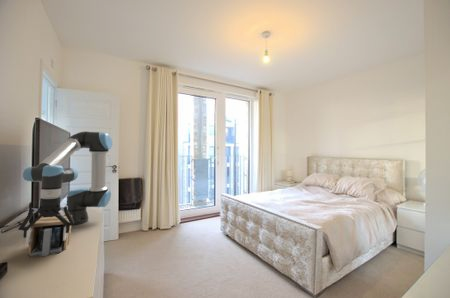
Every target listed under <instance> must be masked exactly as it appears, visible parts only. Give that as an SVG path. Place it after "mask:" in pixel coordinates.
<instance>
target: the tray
mask: <svg viewBox="0 0 450 298" xmlns="http://www.w3.org/2000/svg"><path fill="white" fill-rule="evenodd" d="M51 234H52V228H50V229H45V230H44V236H43V247H42V250H39V244H38V245H37V246H36V248H35V249H34V250H33V251H32V252H31V253H30V255H29V258H34V257H46V256H49V255H55V254H61V252H62V250H64V241H63V239H62V240H61V244H60V246H59V247H58V248H50V246H51Z"/></svg>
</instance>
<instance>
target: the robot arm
mask: <svg viewBox="0 0 450 298" xmlns="http://www.w3.org/2000/svg"><path fill="white" fill-rule="evenodd" d="M112 140H113V139H112V137H111V135H110V134H109V133H106V132H103V131H99V132H98V131H80V132H77V133H74V134H72V135H71V136H69V137H67V138H66V139H65V140H64V141H63V142H64V143H63V144H62V145H61V146H59V147H58V148H56V150H54V151H53V152H52V153H50V155H48V156H47V157H46V158H45V159H44V160H42V161H41V162H40V163H39V164H38V165H36V166H28V167H26V168H25V169H24V170H23V172H22V177H23V180H24V181H27V182H32V183H33V182H35V183H37V182H38V183H41V187H40V196H39V197H40V199H39V206H38V208H35V207H31V208H30V210H29V211H28V212H29V213H28V215H27V216H26V217H25V219H24V220H23V222H22V223H21V225H19V227H18V230H19V231H23V239H24V238H25V246H29V243H30V238H31V226H32V225H33V224H34V223H36V222H37V221H38V220H39V219H40V218H41V217H44V218H45V217H53V216H55V217H56V218H58V219H59V220H60V221H61V222H62V223H63V224H64V225H65V227H64V234H63V241H65V240H66V234H67V233H68V232H69V230H70V226H71V227H72V226H74V225H81V224H85V223H87V222H88V221H89V218H90V217H89V214H88V211H87V208H105V207H107V205H108V204H109V202H110V201H111V196H112V193H111V191H110V190H109V188H108V186H107V185H106V177H107V175H106V172H107V171H106V169H107V166H106V163H107V154H108V153H109V150H111V148H112V146H113V141H112ZM81 149H88V151H89V153H90V154H91V182H90V184H91V187H88V188H87V187H83V188H74V189H71V190H68V192H67V195H66V205H65V206H62V207H61V198H62V187H63V184H64V183H71V182H73V181H75V180H77V178H78V177H79V172H78V170H77V169H75V168H74V167H63V166H62V164H63V163H65V161H67V159H69V158H70V157H71V156H72V155H73V154H74V153H75V152H77V151H79V150H81ZM60 211H62V212H64V214H63V215H62V213H60ZM37 212H38V216H37V217H36V218H35V219H33V220H32V221H31V222H30V223H29V221H30V219H31V218H32V217H33V216H34V214H36V213H37ZM65 215H66V217H67V218H68V220H69V222H70V223H69V222H68V221H67V220H66V219H65V218H64V217H63V216H65ZM71 215H72V216H71ZM28 223H29V224H28ZM27 224H28V225H27ZM26 225H27V226H26Z"/></svg>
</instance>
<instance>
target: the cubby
mask: <svg viewBox="0 0 450 298" xmlns="http://www.w3.org/2000/svg"><path fill="white" fill-rule="evenodd" d="M64 215H65V214H64ZM64 215H62V216H63V217H64V218H65V219H66V220H67V221H68V222H69V220H68V218H67V217H66V215H65V216H64ZM71 216H72V215H71ZM69 223H70V222H69ZM62 224H63V223H62V222H61V221H60V220H59V219H58V218H56V217H55V216H53V217H45V218H44V217H41V218H40V219H39V220H38V221H37V222H36V223H34V224H33V225H32V226H31V227H30V229H31V238H30V243H29V244H28V251H27V252H28V253H27V254H28V255H27V256H30V253H31V252H32V251H33V250H34V249H35V248H36V246H37V245H38V244H39V242H40V232H41V228H42V227H43V226H51V225H62ZM64 227H65V225H64V224H63V230H62V239H63V234H64ZM71 236H72V225H71V226H70V230H69V232H68V233H67V234H66V240H65V241H64V247H63V250H64V251H66V250H67V248H68V246H69V244H70V242H71Z"/></svg>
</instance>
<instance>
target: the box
mask: <svg viewBox="0 0 450 298" xmlns="http://www.w3.org/2000/svg"><path fill="white" fill-rule="evenodd" d="M50 228H52V234H51V246H50V248H58V247H59V246H60V244H61V240H62V230H63V224H62V225H51V226H43V227H42V228H41V232H40V242H39V250H42V247H43V236H44V230H45V229H50Z"/></svg>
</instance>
